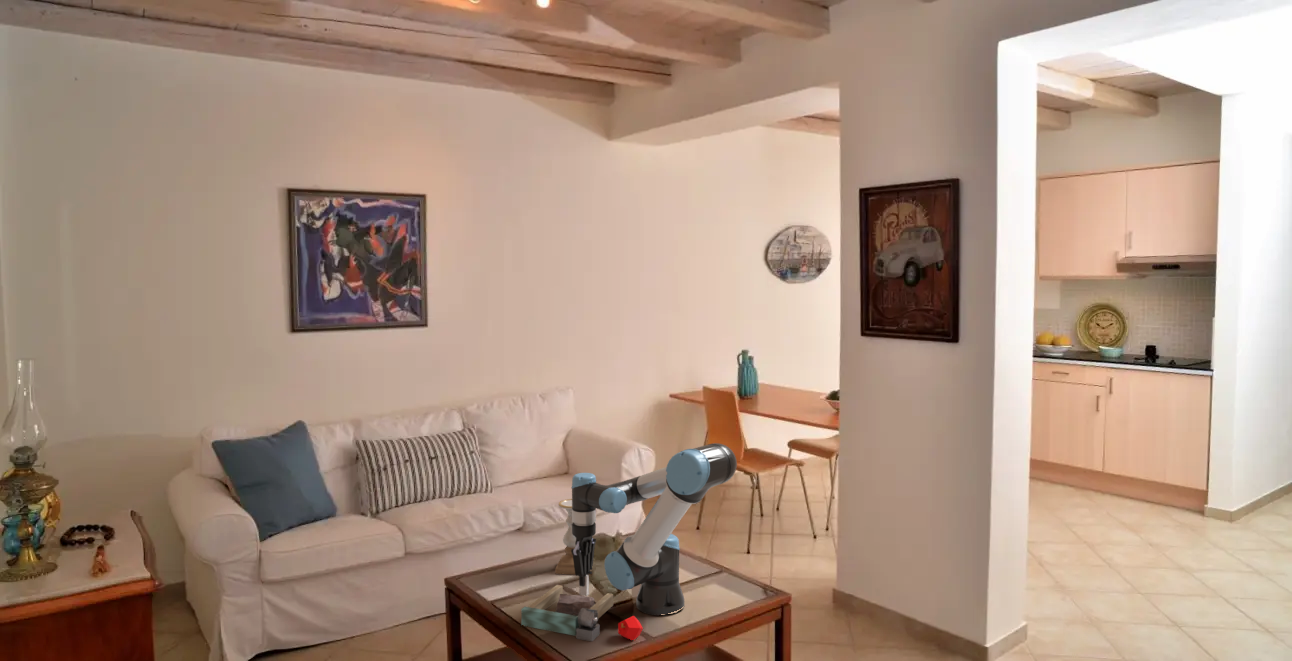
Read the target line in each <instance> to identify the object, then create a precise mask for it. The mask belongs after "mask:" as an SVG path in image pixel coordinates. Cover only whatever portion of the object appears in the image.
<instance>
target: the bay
mask: <svg viewBox="0 0 1292 661" xmlns="http://www.w3.org/2000/svg"><path fill="white" fill-rule="evenodd" d="M563 588H564V587H563V585H560V584H556V585H555V586H553V587H552V588H551V589H550V590H548V591H546V593H544V594H543V595H541V596H540V597H539V598H538V599H536V600H535V601H533V602H531V603H530V604H529V605H528V606H524V607H522V608H521V609H520V610H521V611H520V613H521V626H522V625H524V626H523V627H527V626H528V627H529V628H533V629H534V628H535V629H539V630H545V631H547V632H548V631H550V632H555V633H559V634H564V635H565V634H566V635H569V636H575V637H576V628H577V627H578V626H579V624H578V615H569V614H563V613H558V612H556V611H551V610H547V609H548V608H549V607H551V606H552V605H553V604H555V603H556V602H558V600H559V596H560V594H564V593H563V592H564V590H563ZM613 606H614V594H613V593H606V594H605V595H603V596H602V597H601V598H600V599H599V600H597V602H595V604H594V605H593V606H592V607H591V608H590V609H593V610H597V612H598V619H600V618H601V617H602V616H603V615H604V614H605V613H606V612H607V611H608V610H610V609H611V608H612V607H613Z"/></svg>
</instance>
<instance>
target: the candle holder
mask: <svg viewBox="0 0 1292 661" xmlns="http://www.w3.org/2000/svg"><path fill="white" fill-rule="evenodd" d="M558 507H559V508H561V509H564V510H565V512H567V518H566V519H565V523H566V524H567V526H568V527H567V531H566V532H565V533H564V535H563V538H562V543H563V544H564V545H565V546H566V547H564V553H565V554H563V555H562V556H561V557H560V559H559V561H558V563H557V564H556V566H555V569H554V570H555V571H554V573H555V575H566V576H567V575H570V576H571V575H573V576H576V575H575V569H574V561H573V555H572V553H571V550H572V549H575V547H576V545H575V542H576V537H575V536H574V535H573V534H572V523H573V521H572V498H567V499H562V500H560V501H559V502H558Z"/></svg>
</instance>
